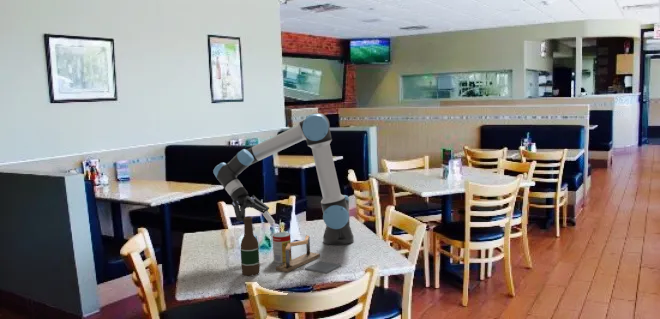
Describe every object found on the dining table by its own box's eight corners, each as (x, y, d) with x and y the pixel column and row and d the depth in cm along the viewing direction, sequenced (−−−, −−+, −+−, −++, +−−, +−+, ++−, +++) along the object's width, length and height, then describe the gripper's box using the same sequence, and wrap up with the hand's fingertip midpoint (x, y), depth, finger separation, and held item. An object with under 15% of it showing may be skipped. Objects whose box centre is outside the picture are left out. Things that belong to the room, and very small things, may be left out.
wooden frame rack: (309, 255, 261) (308, 234, 260) (320, 256, 258) (319, 236, 256) (276, 270, 241) (274, 247, 240) (287, 272, 238) (286, 249, 237)
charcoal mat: (320, 262, 250) (319, 260, 250) (341, 265, 244) (341, 264, 244) (305, 269, 241) (305, 268, 241) (326, 273, 235) (326, 272, 235)
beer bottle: (263, 270, 241) (260, 215, 238) (255, 276, 234) (252, 219, 231) (246, 269, 244) (243, 214, 240) (238, 275, 236) (234, 218, 233)
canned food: (294, 258, 256) (293, 232, 255) (286, 264, 249) (285, 237, 248) (279, 257, 260) (278, 231, 258) (270, 262, 252) (269, 235, 251)
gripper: (251, 192, 277) (276, 225, 270) (213, 201, 256) (240, 238, 250) (258, 182, 273) (284, 215, 267) (221, 190, 253) (248, 227, 246)
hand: (263, 226), depth 258 cm, fingers open, 13 cm apart
